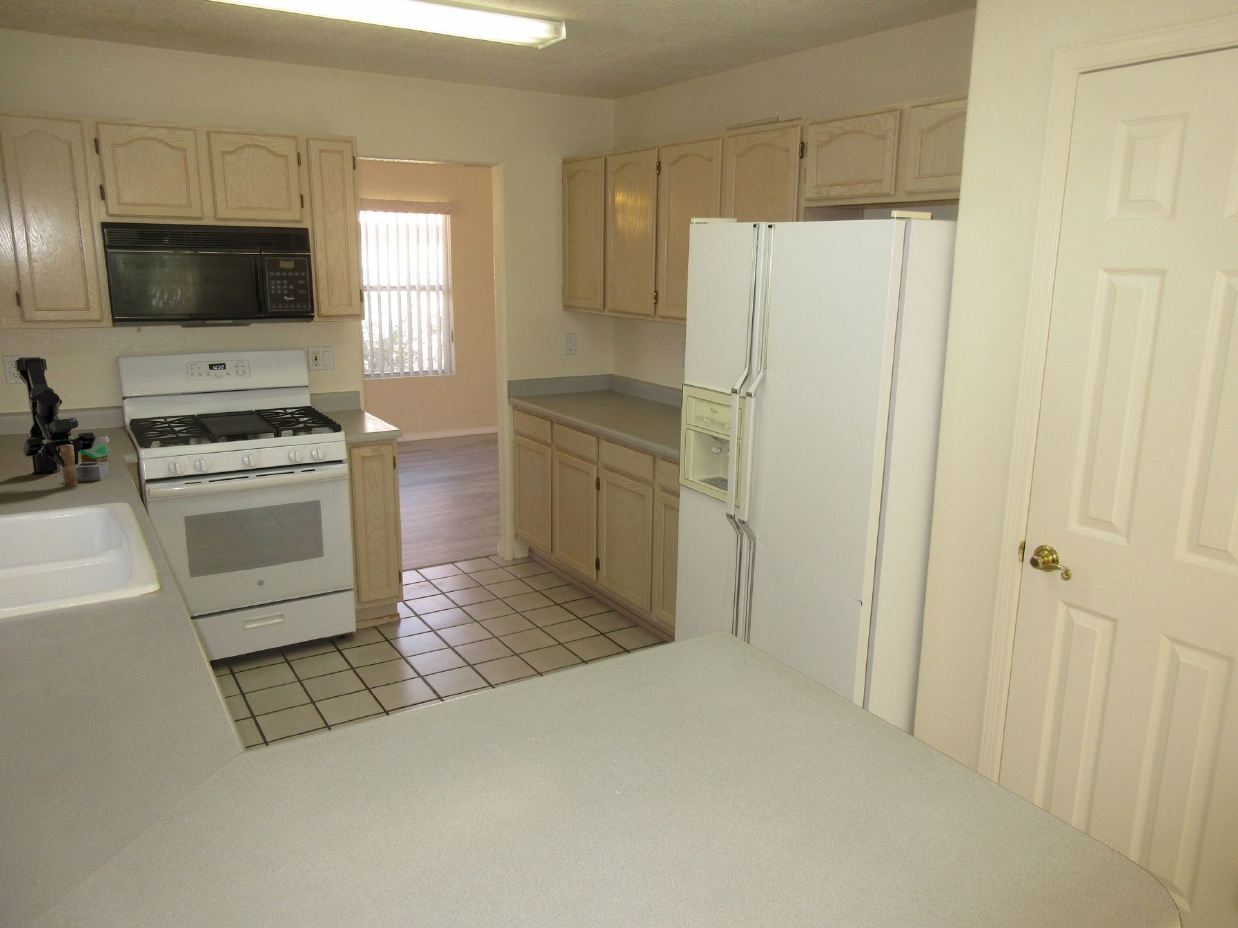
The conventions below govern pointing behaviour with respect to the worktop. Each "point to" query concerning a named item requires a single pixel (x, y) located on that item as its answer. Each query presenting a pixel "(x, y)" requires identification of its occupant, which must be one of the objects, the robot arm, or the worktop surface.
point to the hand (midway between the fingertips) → (70, 465)
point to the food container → (96, 450)
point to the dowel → (69, 465)
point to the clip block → (92, 471)
